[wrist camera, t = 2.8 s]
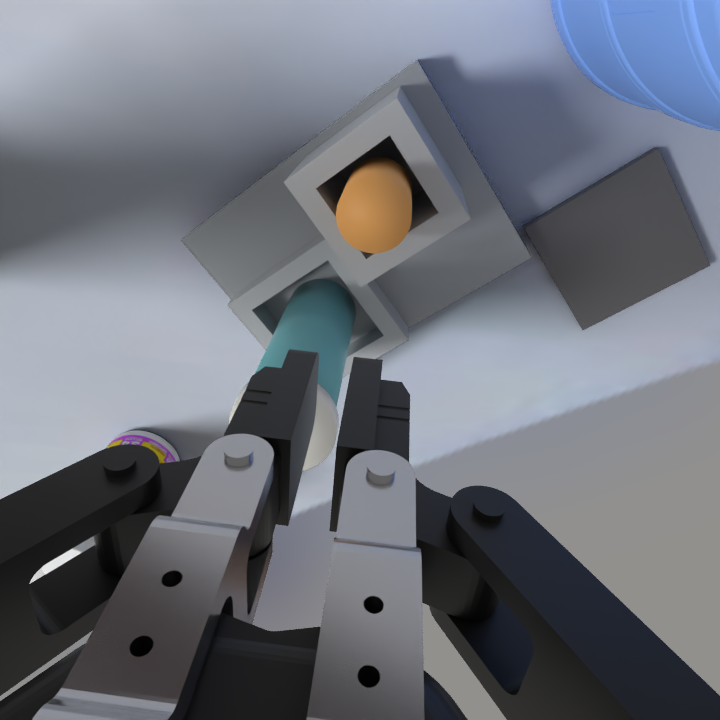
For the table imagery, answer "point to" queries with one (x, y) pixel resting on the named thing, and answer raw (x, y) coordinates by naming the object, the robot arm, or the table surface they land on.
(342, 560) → the robot arm
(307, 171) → the housing
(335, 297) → the cylinder
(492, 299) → the table surface
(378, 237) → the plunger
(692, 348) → the table surface
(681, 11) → the water jug
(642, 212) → the mat
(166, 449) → the supplement bottle
